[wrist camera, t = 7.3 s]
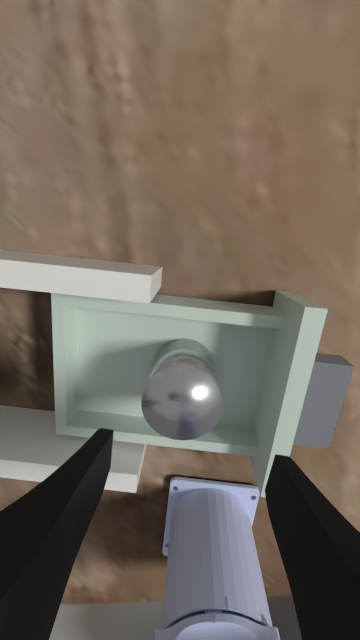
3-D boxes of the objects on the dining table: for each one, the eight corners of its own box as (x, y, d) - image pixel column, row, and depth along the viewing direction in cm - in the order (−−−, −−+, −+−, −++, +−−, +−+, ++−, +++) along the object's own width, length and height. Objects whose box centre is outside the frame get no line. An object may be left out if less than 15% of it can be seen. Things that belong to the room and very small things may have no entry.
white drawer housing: (148, 436, 23) (132, 506, 17) (-31, 416, 24) (-111, 478, 17) (162, 266, 19) (148, 277, 13) (-54, 243, 20) (-169, 243, 13)
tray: (294, 447, 23) (323, 504, 18) (73, 421, 23) (40, 471, 18) (334, 296, 19) (384, 315, 14) (71, 268, 19) (30, 277, 14)
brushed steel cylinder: (209, 398, 21) (214, 445, 16) (150, 389, 21) (137, 433, 16) (220, 343, 20) (229, 376, 15) (157, 334, 20) (145, 363, 15)
